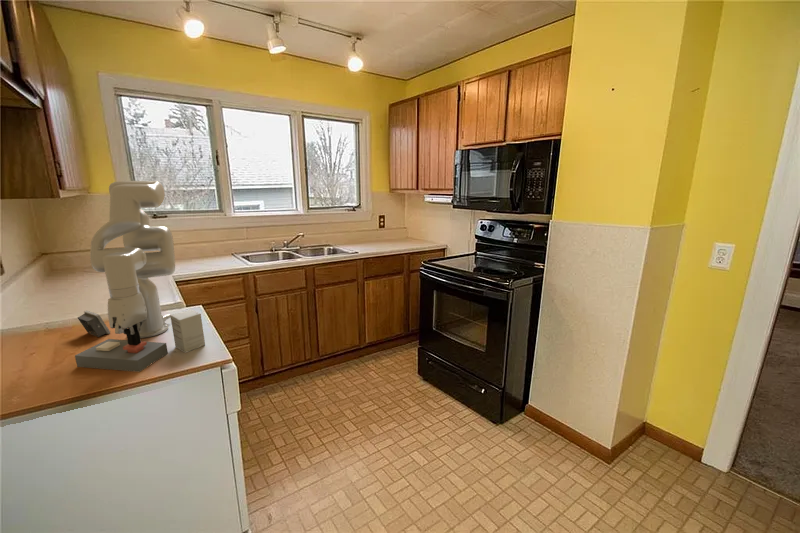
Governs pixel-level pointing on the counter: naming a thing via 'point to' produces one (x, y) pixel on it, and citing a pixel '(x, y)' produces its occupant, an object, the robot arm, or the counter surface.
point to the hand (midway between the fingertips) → (134, 343)
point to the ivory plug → (108, 346)
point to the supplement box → (187, 330)
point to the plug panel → (121, 356)
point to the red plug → (134, 347)
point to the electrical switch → (93, 324)
